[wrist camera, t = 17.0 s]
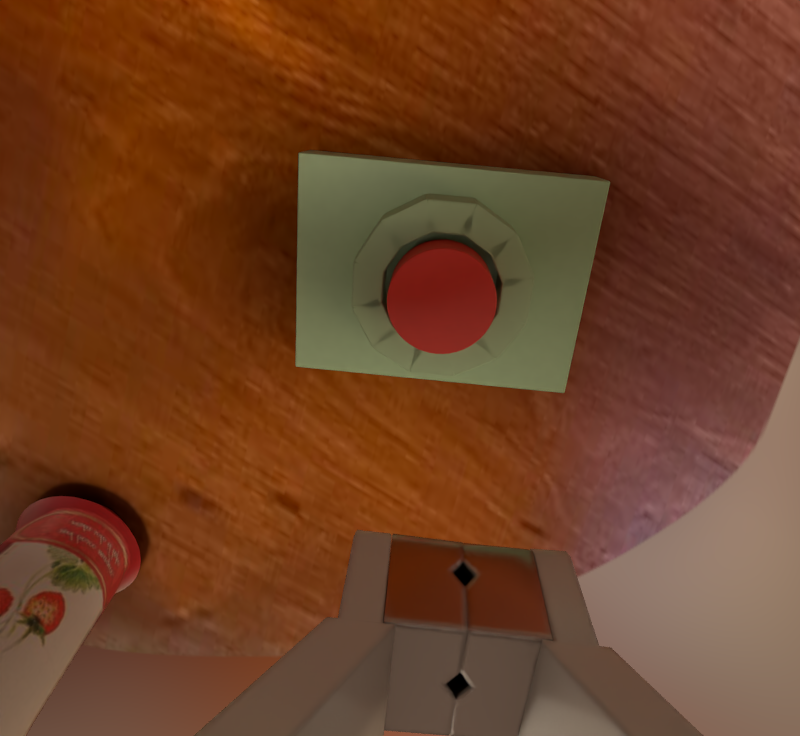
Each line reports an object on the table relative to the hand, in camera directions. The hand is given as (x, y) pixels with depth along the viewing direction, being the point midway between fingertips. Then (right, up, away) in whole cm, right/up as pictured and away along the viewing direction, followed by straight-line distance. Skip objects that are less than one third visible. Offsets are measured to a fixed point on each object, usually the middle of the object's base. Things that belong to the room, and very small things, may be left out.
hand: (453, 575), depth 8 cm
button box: (+1, +7, +18) cm, 19 cm away
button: (+1, +6, +14) cm, 15 cm away
